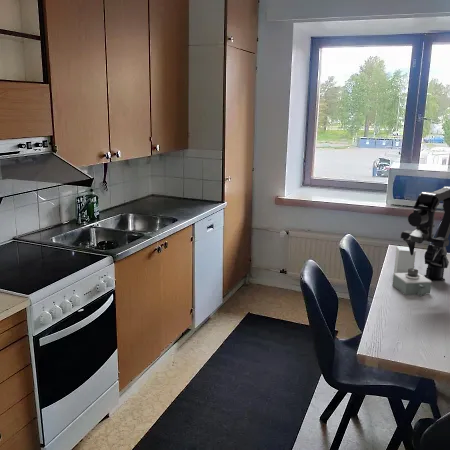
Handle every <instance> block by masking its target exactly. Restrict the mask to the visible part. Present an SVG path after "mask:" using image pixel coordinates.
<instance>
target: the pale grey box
mask: <svg viewBox="0 0 450 450" xmlns="http://www.w3.org/2000/svg"><path fill="white" fill-rule="evenodd" d="M405 274H406V273H394V272H393V275H392V277H393V278H392V285H391V286H393V287H394V288H396V290H398V291H400V292H401V293H402V294H403V293H404V295H406V296H410V295H418V296H420V297H423V296H424V295H429V294H431V289H432V282H433V281H432V280H430V279H429V278H427V277H425V276H424V275H422V274H421V273H419V272H418V275H419V276H420V277H419V279H410V278H407V277H406V276H405Z"/></svg>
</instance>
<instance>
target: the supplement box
mask: <svg viewBox="0 0 450 450" xmlns="http://www.w3.org/2000/svg"><path fill="white" fill-rule="evenodd" d="M416 253H417V251H416V250H415V249H414V253H413V255H411V254H410V250H409V246H401V245H400V246H399V245H398V246H396V249H395V259H394V265H393V266H394V269H393V274H394V273H408V269H410V268H413V269H415V262H416V261H415V259H416Z"/></svg>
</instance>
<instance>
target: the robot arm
mask: <svg viewBox="0 0 450 450" xmlns="http://www.w3.org/2000/svg"><path fill="white" fill-rule="evenodd" d="M440 202H442V208H443V216H442V218H441V221H440V224H439V227H438V229H437V233H436V235H435V237H434V233H433V232H434V231H433V229H434V228H435V224H434V221H435V213H436V211H437V207H438V206H439V205H440ZM407 222H408V224H409V225H410V226H412V227H413V228H414V227H416V228H415V230H410V229H406V230H404V231H401V233H400V239H402V240H403V241H405V242H406V244H407V247H409V250H410V254H411V255H413V253H414V250H415V246H416V243H417V244H422V243H423V242H428V243H431V244H428V245H427V249H426V251H425V253H424V264H425V265H427V267H426V271H425V274H424V275H423V276H424V277H426V278H427V279H429V280H430V281H432V282H433V281H434V282H435V281H445V280H446V278H445V277H444V273H445V269H447V268H448V267H449V263H450V261H449V259H448V257H447V255H448V251H447V247H448V246H450V240H449V236H450V186H443V187H442V188H440V189H439V188H438V189H437V190H434V191H422V192H420V194H419V195H418V197H417V199H416V201H415V204H414V206H413V212H412V213H410V214H409V215H408V217H407Z"/></svg>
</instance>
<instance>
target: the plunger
mask: <svg viewBox="0 0 450 450" xmlns="http://www.w3.org/2000/svg"><path fill="white" fill-rule="evenodd" d="M418 273H419V270H418V269H416V268H414V269H413V268H410V269H408V273H406V274H405V276H406V277H407V278H410V279H419V277H420V276H419V275H418Z"/></svg>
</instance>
